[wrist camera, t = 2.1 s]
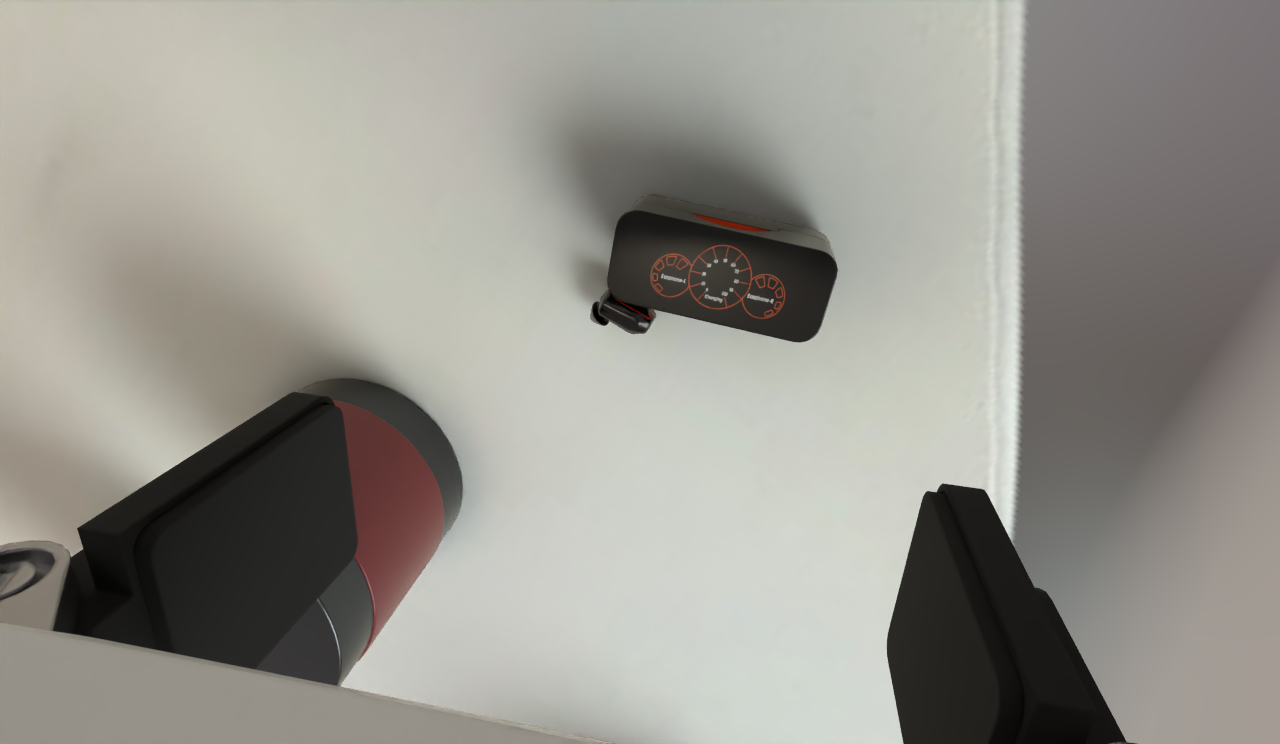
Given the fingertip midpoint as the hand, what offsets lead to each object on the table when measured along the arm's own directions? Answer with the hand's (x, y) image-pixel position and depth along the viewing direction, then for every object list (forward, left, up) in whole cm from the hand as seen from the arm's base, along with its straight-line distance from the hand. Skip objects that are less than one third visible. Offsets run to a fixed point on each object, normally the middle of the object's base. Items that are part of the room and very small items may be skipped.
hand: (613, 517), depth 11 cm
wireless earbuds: (0, 0, -14) cm, 14 cm away
